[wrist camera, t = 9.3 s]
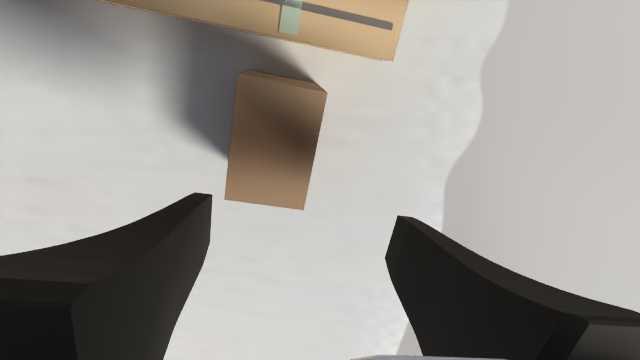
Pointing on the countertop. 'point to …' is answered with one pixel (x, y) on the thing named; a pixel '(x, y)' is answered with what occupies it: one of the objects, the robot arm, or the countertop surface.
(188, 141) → the countertop surface
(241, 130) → the walnut block
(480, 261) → the robot arm
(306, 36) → the oak board
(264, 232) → the countertop surface
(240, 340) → the countertop surface
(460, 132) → the countertop surface
